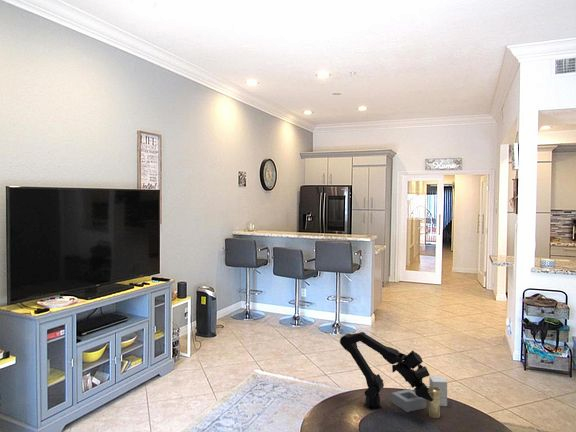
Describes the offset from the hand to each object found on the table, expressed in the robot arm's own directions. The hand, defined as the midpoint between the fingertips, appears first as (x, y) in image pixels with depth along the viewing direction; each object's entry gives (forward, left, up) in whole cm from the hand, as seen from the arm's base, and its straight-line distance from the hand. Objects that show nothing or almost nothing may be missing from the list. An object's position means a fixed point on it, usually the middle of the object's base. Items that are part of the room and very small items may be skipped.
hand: (430, 396), depth 199 cm
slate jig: (-2, +13, -9) cm, 16 cm away
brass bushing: (+2, -1, -9) cm, 9 cm away
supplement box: (+14, +9, -9) cm, 19 cm away
